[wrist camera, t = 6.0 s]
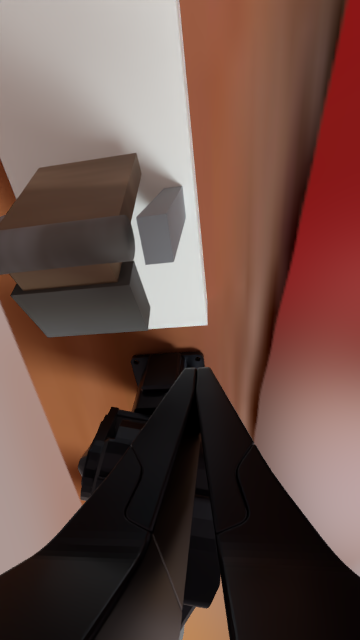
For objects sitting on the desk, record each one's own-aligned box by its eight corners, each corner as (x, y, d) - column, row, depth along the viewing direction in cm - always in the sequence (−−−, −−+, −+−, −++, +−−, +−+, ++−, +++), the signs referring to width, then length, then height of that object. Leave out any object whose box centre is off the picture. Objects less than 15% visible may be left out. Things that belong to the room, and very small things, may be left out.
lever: (163, 239, 17) (154, 329, 13) (76, 249, 18) (42, 337, 14) (141, 144, 13) (117, 232, 9) (30, 162, 14) (-39, 251, 10)
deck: (207, 301, 23) (208, 407, 13) (87, 310, 24) (13, 413, 15) (178, -10, 14) (125, -304, 5) (-8, 33, 15) (-328, -135, 6)
